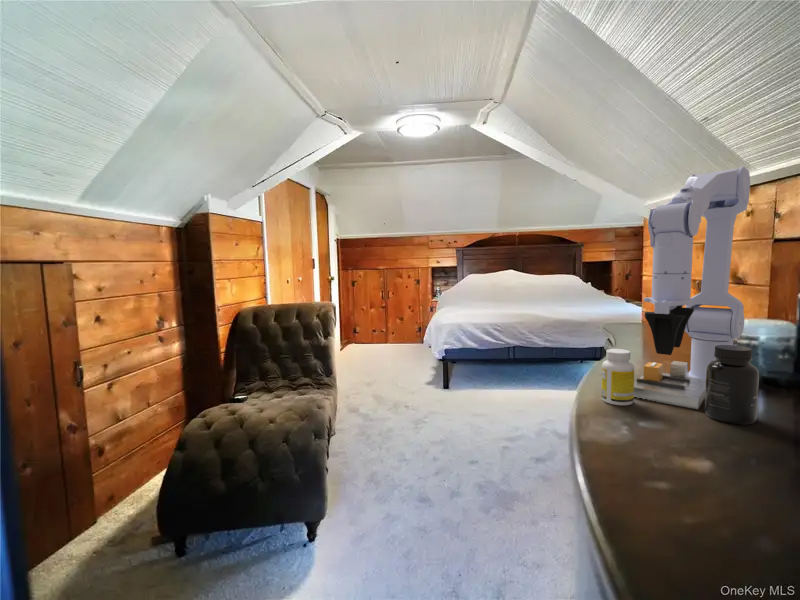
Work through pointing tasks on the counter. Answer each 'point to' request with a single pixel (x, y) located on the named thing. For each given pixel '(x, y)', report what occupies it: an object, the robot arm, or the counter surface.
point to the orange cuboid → (653, 371)
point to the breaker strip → (673, 387)
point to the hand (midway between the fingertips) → (668, 350)
